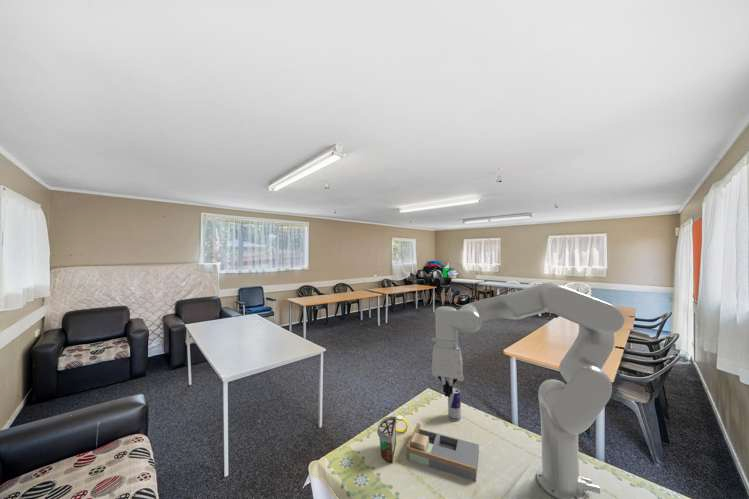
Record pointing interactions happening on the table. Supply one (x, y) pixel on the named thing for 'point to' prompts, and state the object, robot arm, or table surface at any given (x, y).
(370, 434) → the table surface
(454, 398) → the energy drink
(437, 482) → the table surface
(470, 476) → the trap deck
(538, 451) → the table surface
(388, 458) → the food container
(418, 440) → the birch block
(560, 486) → the robot arm
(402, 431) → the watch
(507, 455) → the table surface
